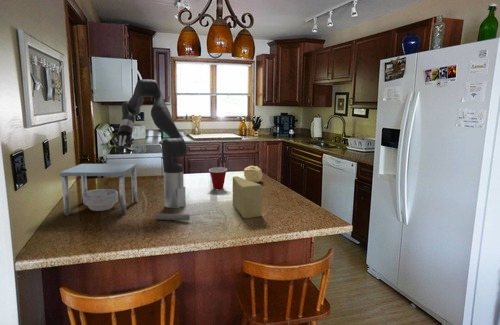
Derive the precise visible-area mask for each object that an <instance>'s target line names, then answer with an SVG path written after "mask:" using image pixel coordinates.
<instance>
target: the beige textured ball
mask: <svg viewBox="0 0 500 325" xmlns="http://www.w3.org/2000/svg"><path fill="white" fill-rule="evenodd" d="M243 176H244V179H245V180H248V181H252V182H255V183H257V184H258V183H259V182H261V180H262V179H263V172H262V169H261V168H260V167H259V166H255V165H249V166H247V167H245V168H243Z"/></svg>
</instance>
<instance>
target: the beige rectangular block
mask: <svg viewBox="0 0 500 325" xmlns="http://www.w3.org/2000/svg"><path fill="white" fill-rule="evenodd" d="M232 206H233V207H234V208H235V210H236V211H238V212H239V214H240V215H241V217H242V218H243V219H253V218H257V217H261V216H262V215H263V185H262V184H260V183H258V182H257V183H255V182H252V181H248V180H246V179H245V178H242V177H240V176H232Z"/></svg>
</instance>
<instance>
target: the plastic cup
mask: <svg viewBox="0 0 500 325" xmlns="http://www.w3.org/2000/svg"><path fill="white" fill-rule="evenodd" d="M227 171H228V168H227V167H220V166H218V167H212V168H209V169H208V172H209V174H210V178H211V179H210V180H211V183H212V188H213V189H214V190H216V189H221V190H223V189H224V184H225V181H226V174H227Z"/></svg>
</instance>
